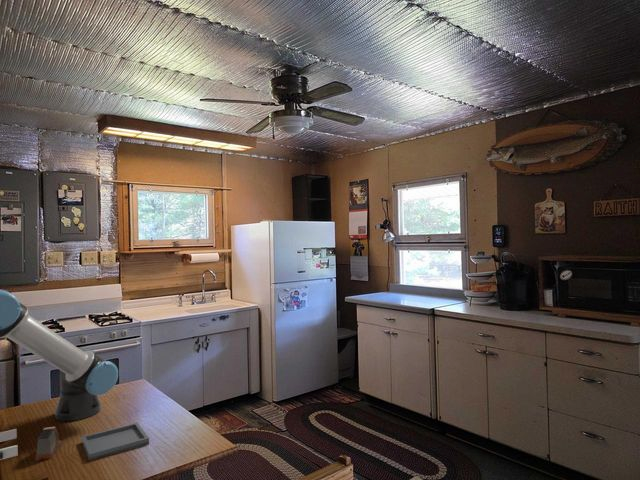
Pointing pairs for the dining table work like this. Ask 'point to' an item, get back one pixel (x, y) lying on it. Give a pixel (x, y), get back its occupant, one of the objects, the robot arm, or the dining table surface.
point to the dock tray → (114, 441)
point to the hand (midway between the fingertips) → (17, 441)
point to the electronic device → (47, 443)
